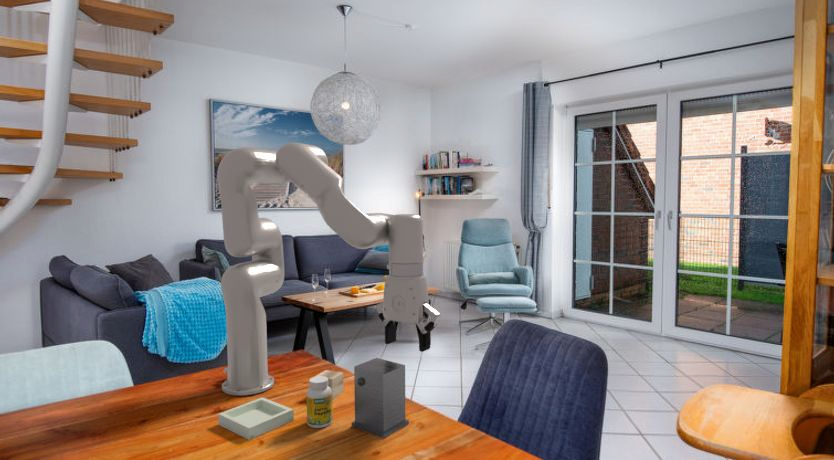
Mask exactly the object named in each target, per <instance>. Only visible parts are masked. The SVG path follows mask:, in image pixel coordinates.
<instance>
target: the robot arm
mask: <svg viewBox="0 0 834 460" xmlns="http://www.w3.org/2000/svg"><path fill="white" fill-rule="evenodd" d="M216 173H217V174H216V178H217V179H216V180H217V187H218V191H219V197H220V204H221V218H222V219H221V220H222V221H221V222H222V230H223V242H224V243H223V244H224V248H225V250H226V252H227V253H228V254H229V255H230V256H232V257H235V258H248V257H251V260H250V261H246V262H240V263H237V264H234V265H232V266H230V267H228V268H227V269H226V270H225V271H224V272H223V274H222V276H221V279H220V280H221V281H220V288H221V289H220V290H221V294H222V298H223V303H224V308H225V323H226V324H225V325H226V345H227V346H226V349H227V367H225V368H223V372H222V373H224V374H227V375H226V376H227V379H226V380H225V381H224V382H223V383H222V384H221V391H222V392H224V394H227V395H229V396H238V397H240V396H251V395H257V394H260V393H263V392H267V391H268V390H270V389H271V388H272V387H274V385H275V378H274V377H273V376H271V375H270V374H269V373H268V369H269V368H268V367H269V366H268V334H267V328H268V327H267V313H266V311H265V307H264V306H263V302H262V301H261V298H262V297H265V296H269V295H271V294H274V293H276V292H278V291H279V290H280V288H282V286H283V284H284V281H285V259H284V244H283V236H282V232H281V230H280V227H279V226H278V225H277V223H275V222H274V221H273V220H271V219H269V218H267V217H259V211H258V208H259V207H258V206H259V205H258V200H257V197H256V194H255V192H254V190H253V189H252V187H251V186H252V184H267V185H268V184H269V185H270V184H271V185H275V184H276V185H277V184H287V183H292V184H293V185H295V186H296V187H297V188H298V189H299V190H300V191H301V192H302V193H303V194H304V195H306V197H308V198H309V199H310V200H311V201H312V202H314V203H315V204H316V206H317V209H318V211H319V214H320V215H321V217H322V219H323V221H324V222H325V223H326V225H327V226H328V227H329V229H331V230H332V231H333V232H334V233H335V234H336V235H338V237H340V238H341V239H342V240H343V241H345V243H347V244H348V245H350V246H351V247H353V248H356V249H359V250H367V249H370V248H375V247H376V248H377V247H382V246H386V245H388V263H387V264H386V269H387V270H388V273H389V274H388V275H386V277H385V280H384V281H385V282H384V287H383V299H382V301H380V302H379V303H377V304H376V305H375V308H376V311H377V313H378V317H379V319H380V321H381V325H382V326H383V327H384V343H385V344H386V345H390V344H392V343H395V342H397V326H396V323H401V324H406V325H416V326H417V327H418V329H419V330H420V332H419V335H418V350H419V352H421V353H424V352H425V351H428V350H430V349H431V344H432V343H431V340H432V339H431V336H432V334H431V332H433V330H434V329H435V327H436V326H437V325H438V322H439V320H440V318H441V313H440V312H438V311H437V310H436V309H435V308H433V307H432V306H430V299H429V298H430V296H429V290H428V284H427V279H426V276H424V223H423V219H422V216H421V215H420V214H415V213H412V214H411V213H399V214H389V213H383V212H375V213H374V212H373V213H372V212H371V213H364V212H363V211H362V210H361V209H359V208H358V207H357V206H355V204H354V203H352V202H351V201H350V200H349V198H348V197H347V196H345V194H344V192H343V188H344V178H342V175H340V174H339V173H337V172H336V171H335V170H334V169H333V168H331V167H330V166H329V159H328V155H326V153H325V152H324V150H323V149H321V148H320V147H318V146H317V145H313V144H307V143H302V142H288V143H285V144H283V145H282V146H280V147H279V149H278V150H272V149H271V150H270V149H263V148H257V147H249V146H248V147H239V148H235V149H233V150H231V151H228V152H227V153H226V154H225V155H224V157H222V159H221V161H220V163H218V167H217V172H216ZM429 317H430V321H429ZM395 322H396V323H395Z"/></svg>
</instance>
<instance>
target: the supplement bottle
mask: <svg viewBox="0 0 834 460" xmlns="http://www.w3.org/2000/svg"><path fill="white" fill-rule="evenodd" d="M328 384H329V383H328V378H327V377H324V376H317V377H315V376H313V377H311V378H310V379H309V380H308V386H309V388H308V389H307V390H306V394H305V395H306V397H305V398H306V423H307V425H308V426H309V427H310V428H314V429H320V428H321V429H322V428H323V429H324V428H326V427H328V426H329V425H331V424H332V423H333V416H334V415H333V400H332V390H331V388H330V387H328Z"/></svg>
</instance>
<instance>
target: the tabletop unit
mask: <svg viewBox="0 0 834 460" xmlns="http://www.w3.org/2000/svg"><path fill="white" fill-rule="evenodd" d="M353 371H354V374H353V375H354V376H353V377H354V379H353V380H354V421H351V427H353V428H355V429H357V430H360V431H364V432H366V433H368V434H371V435H374V436H376V437H379V438H382V439H386V438H387V437H389V436H391V435H393V434H394V433H396V432H398V431H399V430H401V429H404V428H405V427H406V426H408V425H410V420H409V419H406V365H405V364H401V363H398V362H395V361H391V360H386V359H384V358H383V359H382V358H380V357H375V358H372V359H370V360H368V361H365V362H362V363H360V364H357V365H355V366H354V368H353Z"/></svg>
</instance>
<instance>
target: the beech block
mask: <svg viewBox="0 0 834 460" xmlns="http://www.w3.org/2000/svg"><path fill="white" fill-rule="evenodd" d="M317 376H324V377H327V378H328V383H329V384H328V387H330V388H331V390H332V401H333V400H334V399H336V398H337V397H338V396H340V395H341V394H342V393H344V372H343V371H342V372H341V371H337V370H329V369H325V370H322V372H320V373H318V374H316V375H315V376H314V377H317Z"/></svg>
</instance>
